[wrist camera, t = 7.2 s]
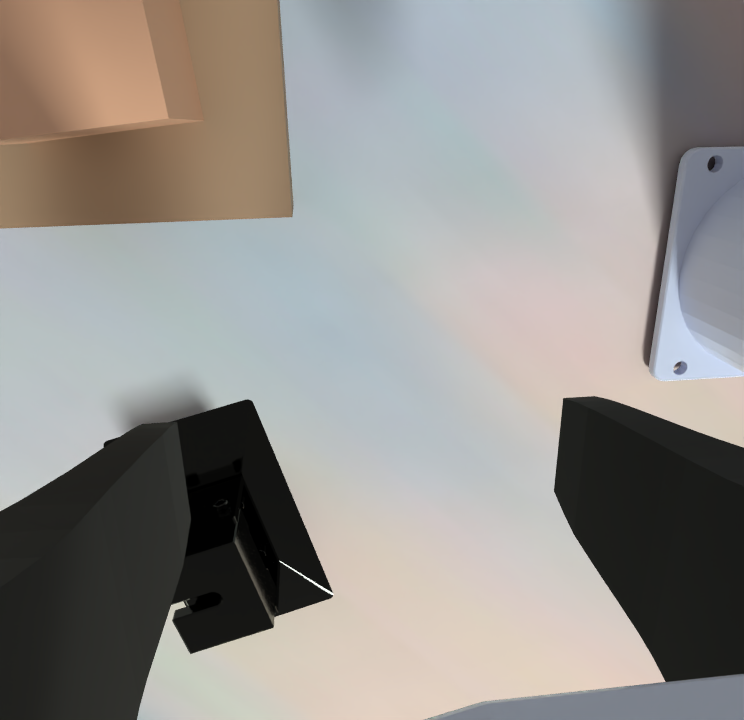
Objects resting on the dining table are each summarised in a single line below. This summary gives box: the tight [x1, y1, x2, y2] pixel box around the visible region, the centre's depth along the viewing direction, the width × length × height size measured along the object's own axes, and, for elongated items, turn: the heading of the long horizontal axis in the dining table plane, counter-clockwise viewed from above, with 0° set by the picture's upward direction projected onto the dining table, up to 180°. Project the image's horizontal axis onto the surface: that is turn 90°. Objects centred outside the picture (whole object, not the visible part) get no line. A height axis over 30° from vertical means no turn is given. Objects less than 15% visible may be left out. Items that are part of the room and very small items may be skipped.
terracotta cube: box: [0, 0, 204, 145], centre depth 13 cm, size 4×4×4 cm
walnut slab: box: [0, 0, 293, 228], centre depth 16 cm, size 9×9×3 cm
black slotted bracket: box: [104, 400, 333, 654], centre depth 22 cm, size 12×7×5 cm, turn 16°
